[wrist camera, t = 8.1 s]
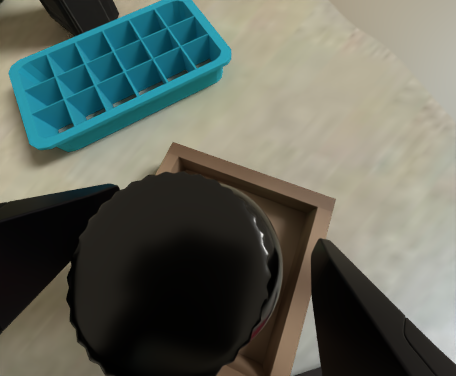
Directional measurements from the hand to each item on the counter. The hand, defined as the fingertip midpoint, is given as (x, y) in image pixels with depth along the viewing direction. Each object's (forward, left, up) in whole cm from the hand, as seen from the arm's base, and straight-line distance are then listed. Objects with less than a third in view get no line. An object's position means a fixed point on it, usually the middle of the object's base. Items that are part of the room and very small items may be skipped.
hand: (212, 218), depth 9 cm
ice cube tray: (+12, +16, -9) cm, 22 cm away
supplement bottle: (-2, 0, -8) cm, 8 cm away
